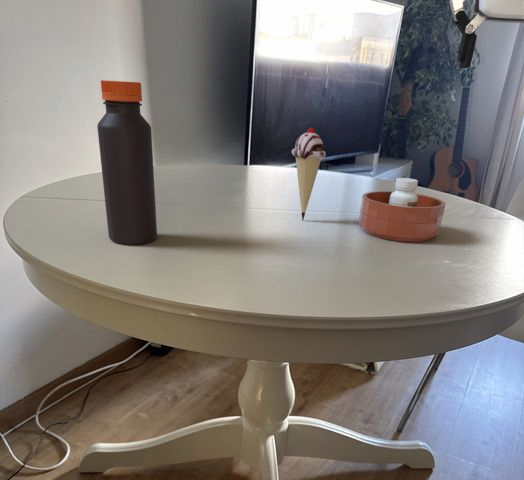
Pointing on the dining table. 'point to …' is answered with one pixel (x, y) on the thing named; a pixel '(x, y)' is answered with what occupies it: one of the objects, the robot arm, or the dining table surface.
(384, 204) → the bowl
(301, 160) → the ice cream cone
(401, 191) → the pill bottle
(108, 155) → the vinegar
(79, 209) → the dining table surface
